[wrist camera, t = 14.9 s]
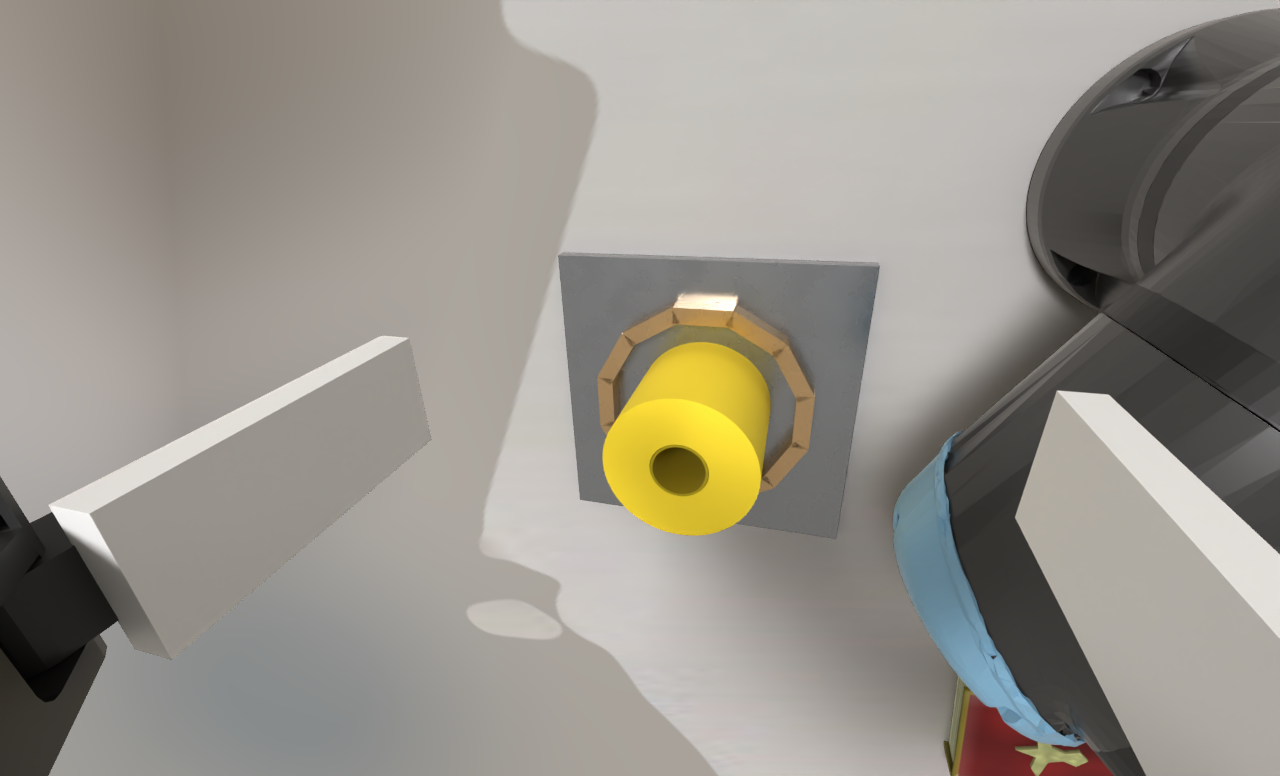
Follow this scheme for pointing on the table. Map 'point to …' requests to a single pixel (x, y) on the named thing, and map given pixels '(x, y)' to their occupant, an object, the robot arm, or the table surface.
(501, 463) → the table surface
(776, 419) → the ring collar plate
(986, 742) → the hardcover book
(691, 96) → the table surface
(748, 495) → the tape roll
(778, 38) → the table surface
